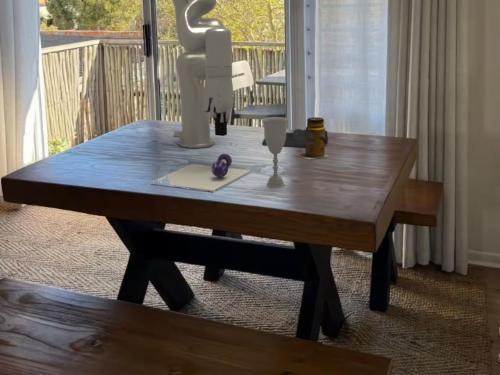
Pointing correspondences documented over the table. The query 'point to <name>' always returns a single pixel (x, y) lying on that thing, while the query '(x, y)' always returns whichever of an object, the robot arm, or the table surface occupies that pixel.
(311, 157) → the condiment
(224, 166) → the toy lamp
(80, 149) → the table surface
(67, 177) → the table surface
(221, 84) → the robot arm
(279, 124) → the chalice
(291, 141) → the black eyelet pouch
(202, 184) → the mat
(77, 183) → the table surface
